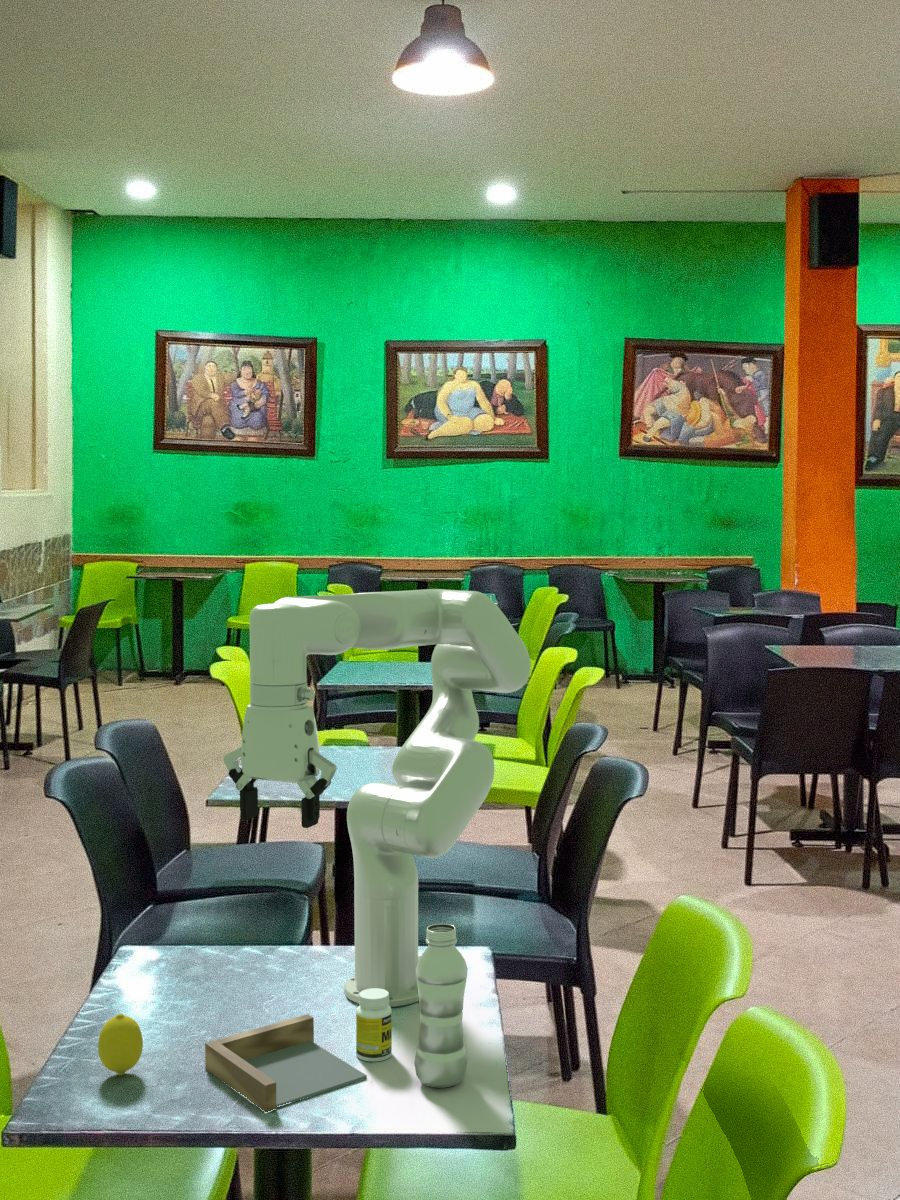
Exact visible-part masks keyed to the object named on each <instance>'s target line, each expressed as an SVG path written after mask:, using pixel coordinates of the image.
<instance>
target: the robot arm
mask: <svg viewBox="0 0 900 1200" xmlns="http://www.w3.org/2000/svg"><path fill="white" fill-rule="evenodd" d="M431 645H432V646H433V645H435V647H434V649H433V651H432V654H431V659H430V668H431V669H430V670H431V680H432V700H431V701H432V702H431V704H430V706H429V708H428V711H427V712H426V714H425V715H424V717H423V718H422V719H421V721H420V722H419V724H418V725H417V726H416V727H415V729H414V730H413V732H412V733H411V734H410V735H409V737H407V739H406V740H405V742H404V744H403V745H402V746H401V748H400V749H399V751H397V753H396V756H395V758H394V760H393V763H392V766H391V772H392V777H393V779H394V781H395V783H391V782H382V781H380V782H379V781H378V782H371V783H370V782H369V783H367V784H364V785H362V786H361V787H359V788H358V789H357V790H356V791H354V793H353V794H352V796H351V798H350V800H349V802H348V805H347V811H346V822H347V823H346V824H347V829H348V830H347V831H348V834H349V838H350V839H349V840H350V843H351V849H352V857H353V860H352V861H353V877H354V887H353V888H354V890H353V894H354V898H353V899H354V901H353V902H354V903H353V907H354V913H353V914H354V915H353V916H354V975H353V976H351V977H350V978H349V979H348V980H346V982H345V983H344V987H343V988H344V989H343V990H344V995H345V996H346V998H348V999H349V1000H350V1001H351V1002H354V1003H355V1004H358V1005H359V993H360V992H361V991H363V990H365V989H372V988H379V989H384V990H386V991H388V992H389V1006H390V1007H391V1008H392V1007H393V1008H395V1007H402V1006H407V1005H410V1004H413V1003H417V1002H419V994H418V986H417V978H416V967H417V963H418V961H419V959H420V957H421V956H422V955H419V875H418V870H417V866H416V863H415V860H414V856H416V857H422V858H427V859H428V858H429V859H430V858H431V859H434V858H435V859H436V858H439V857H441V856H443V855H445V854H446V853H447V852H449V850H451V849H452V847H453V846H454V845H455V843H457V841H458V839H460V837H461V835H462V834H463V832H464V831H465V830H466V828H467V827H468V825H469V824H470V822H471V821H472V819H473V818H474V817H475V815H476V814H477V812H478V811H479V809H480V807H481V806H482V804H483V803H484V801H485V800H486V798H487V797H488V795H489V792H490V790H491V789H492V785H493V781H494V776H495V762H494V761H495V760H494V756H493V755H492V752H491V751H490V750H489V749H488V747H487V746H485V745H484V744H483V743H481V742H479V741H477V740H475V738H476V737H477V735H478V733H479V730H480V729H479V728H480V718H479V717H480V716H479V713H478V711H477V707H476V704H475V700H474V697H473V691H472V690H475V691H482V692H483V691H484V692H492V693H501V694H509V693H510V694H511V693H514V692H516V691H519V690H520V689H522V688H523V686H525V685H526V684H527V682H528V680H529V676H530V674H531V666H532V665H531V664H532V663H531V658H530V654H529V651H528V649H527V646H526V644H525V642H524V641H523V639H522V638H521V637H520V635H519V634H518V633H517V631H516V629H515V628H514V627H513V625H512V624H511V623H510V621H509V619H508V618H507V616H506V615H505V614H504V612H503V611H502V610H501V609H500V607H499V606H498V605H497V604H496V602H495V601H493V600H492V599H491V598H490V597H489V596H487V595H486V594H485V593H483V592H481V591H478V590H477V591H476V590H463V589H462V590H459V589H458V590H457V589H444V588H429V589H428V588H427V589H413V590H412V589H411V590H409V589H408V590H396V591H394V590H392V591H391V590H390V591H372V592H358V593H350V594H349V593H348V594H327V595H302V596H285V597H281V598H280V599H277V600H276V601H274V602H272V603H263V604H257V605H256V606H254V607H253V608H252V609H251V610H250V614H249V697H250V698H249V702H250V703H249V704H248V705H246V709H245V713H244V718H243V725H242V726H243V727H242V734H241V745H240V747H239V748H237V749H234V750H233V751H231V752H229V753H227V754H225V755H223V762H224V764H225V767H226V770H228V776H229V778H230V779H231V780H232V781H233V783H234V784H235V789H236V790H237V791H239V809H240V810H239V811H240V819H241V821H247V820H249V819H252V818H255V817H257V816H258V814H259V789H258V787H257V786H255V784H256V783H257V782H258V781H259V780H262V781H271V782H280V783H288V784H289V783H291V784H297V786H298V787H299V789H300V790H301V792H302V793H303V794H304V796H305V797H302V798H301V804H300V805H301V807H300V809H301V827H302V828H303V829H308V828H311V827H314V826H315V825H317V824H318V823H319V819H320V815H321V814H320V812H321V811H320V807H321V806H320V804H321V803H320V796H322V795H323V794H324V792H325V790H326V789H328V787H330V785H331V784H332V780H333V778H334V776H335V774H336V772H337V769H338V767H337V765H336V764H334V763H333V762H332V761H330V760H329V759H327V758H326V757H324V756H323V755H322V754H320V746H319V745H320V744H319V736H318V728H317V727H318V726H317V721H316V717H315V712H314V709H313V706H312V705H308V701H309V700H310V701H312V700H313V699H314V697H315V691H314V690H313V689H309V688H308V682H307V657H308V655H325V656H334V655H335V656H336V655H340V654H343V653H345V652H347V651H348V650H351V648H355V649H362V650H394V649H402V648H403V649H404V648H411V647H420V646H421V647H422V646H431ZM240 759H241V761H240V762H241V767H240V764H239V760H240ZM320 772H321V774H320ZM318 775H320V776H319V778H318V779H317V778H316V777H317V776H318Z"/></svg>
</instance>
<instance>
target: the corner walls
mask: <svg viewBox="0 0 900 1200" xmlns="http://www.w3.org/2000/svg"><path fill="white" fill-rule="evenodd" d="M314 1022H315V1021H314V1017H313V1016H311V1015H310V1014H303V1015H300V1016H296V1017H292V1018H289V1019H286V1020H282V1021H279V1022H276V1023H271V1024H268V1025H263V1026H261V1027H258V1028H253V1029H250V1030H248V1031H247V1030H246V1031H244V1032H240V1033H236V1034H233V1035H229V1036H225V1037H223V1038H219V1039H215V1040H211V1041H208V1042H205V1043H204V1047H205V1048H204V1049H205V1052H204V1054H205V1055H204V1056H205V1066H204V1067H205V1071H207V1070H208V1071H209V1072H208V1071H207V1072H208V1073H210V1074H211V1073H212V1074H213V1075H212V1074H211V1075H212V1076H214V1075H215V1076H216V1077H217V1078H216V1077H215V1076H214V1077H215V1078H216V1079H218V1078H219V1079H220V1080H221V1082H222V1081H223V1082H225V1083H226V1084H227V1085H229V1086H230V1087H232V1088H233V1089H235V1090H236V1091H237V1092H240V1094H242V1095H244V1096H245V1097H247V1099H249V1100H250V1101H251V1102H253V1103H254V1104H255V1105H257V1106H258V1107H260V1108H261V1109H262V1110H264V1111H265V1112H268V1111H271V1110H273V1109H278V1108H277V1104H276V1082H275V1081H274V1080H272V1079H271V1078H269V1077H268V1076H267V1075H265V1074H264V1073H262V1072H261V1071H259V1070H258V1069H256V1068H255V1067H254V1066H252V1065H251V1064H249V1063H248V1062H246V1061H245V1060H248V1059H251V1058H254V1057H258V1056H261V1055H264V1054H268V1053H271V1052H274V1051H278V1050H281V1049H284V1048H288V1047H291V1046H295V1045H298V1044H301V1043H305V1042H308V1041H312V1042H314V1041H315V1038H314V1037H315V1036H314V1035H315V1034H314V1031H315V1029H314V1027H315V1026H314V1024H315V1023H314ZM314 1043H315V1042H314ZM219 1079H218V1080H219ZM220 1080H219V1081H220ZM223 1082H222V1083H223ZM225 1083H224V1084H225ZM226 1084H225V1085H226ZM227 1085H226V1086H227ZM229 1086H228V1087H229ZM230 1087H229V1088H230ZM233 1089H232V1090H233ZM237 1092H236V1093H237Z"/></svg>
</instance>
